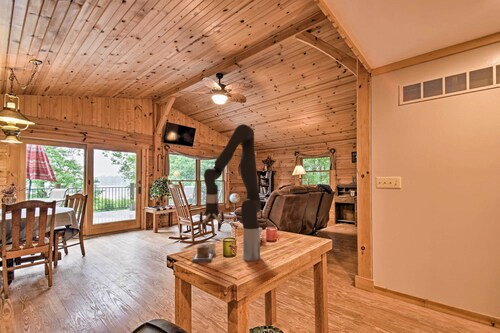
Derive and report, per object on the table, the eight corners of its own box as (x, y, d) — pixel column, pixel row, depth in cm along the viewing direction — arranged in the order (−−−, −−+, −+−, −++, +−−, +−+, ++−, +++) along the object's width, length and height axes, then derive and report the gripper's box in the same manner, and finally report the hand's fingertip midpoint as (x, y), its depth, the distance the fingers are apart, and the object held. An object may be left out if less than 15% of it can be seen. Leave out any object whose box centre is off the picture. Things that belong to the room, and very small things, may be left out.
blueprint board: (213, 255, 141) (213, 252, 141) (210, 261, 131) (210, 258, 131) (195, 255, 141) (195, 253, 141) (192, 262, 131) (192, 259, 131)
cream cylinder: (215, 252, 147) (215, 242, 148) (215, 254, 143) (215, 244, 144) (209, 252, 147) (209, 242, 147) (208, 254, 143) (208, 244, 143)
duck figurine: (251, 247, 164) (258, 235, 159) (245, 238, 169) (252, 227, 164) (264, 243, 172) (271, 232, 167) (258, 235, 177) (265, 224, 172)
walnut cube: (208, 254, 139) (208, 244, 139) (207, 257, 134) (207, 247, 134) (199, 254, 139) (199, 244, 139) (197, 257, 133) (197, 247, 133)
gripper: (224, 201, 150) (224, 227, 150) (201, 201, 150) (200, 227, 149) (223, 202, 143) (223, 230, 142) (198, 202, 142) (198, 230, 142)
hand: (211, 229), depth 146 cm, fingers open, 8 cm apart
